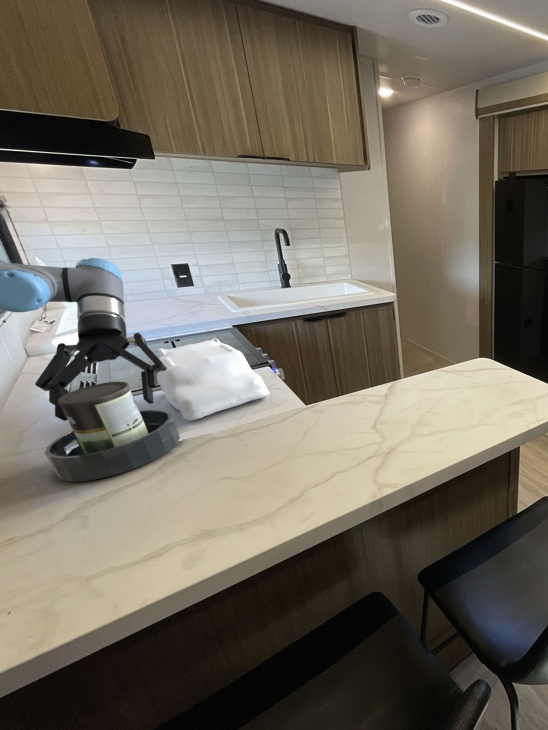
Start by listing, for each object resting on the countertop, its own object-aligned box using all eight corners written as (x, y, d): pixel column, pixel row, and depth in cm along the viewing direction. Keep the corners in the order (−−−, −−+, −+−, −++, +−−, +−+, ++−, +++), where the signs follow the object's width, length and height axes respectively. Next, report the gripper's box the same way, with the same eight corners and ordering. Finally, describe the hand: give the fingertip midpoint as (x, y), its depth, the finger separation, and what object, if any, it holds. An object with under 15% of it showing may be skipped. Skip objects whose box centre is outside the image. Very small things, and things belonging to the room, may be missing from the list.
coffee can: (87, 474, 77) (52, 408, 72) (91, 452, 84) (61, 391, 79) (154, 453, 83) (127, 391, 78) (153, 434, 90) (129, 377, 85)
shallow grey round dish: (28, 487, 74) (13, 462, 72) (111, 434, 92) (101, 413, 90) (138, 477, 76) (126, 452, 74) (199, 427, 93) (191, 406, 91)
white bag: (236, 373, 126) (223, 332, 121) (273, 398, 107) (259, 350, 102) (161, 394, 113) (143, 349, 108) (187, 426, 94) (167, 373, 89)
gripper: (178, 322, 96) (188, 401, 89) (36, 340, 86) (36, 431, 79) (164, 304, 90) (174, 387, 83) (10, 321, 80) (7, 419, 73)
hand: (106, 409), depth 81 cm, fingers open, 13 cm apart
